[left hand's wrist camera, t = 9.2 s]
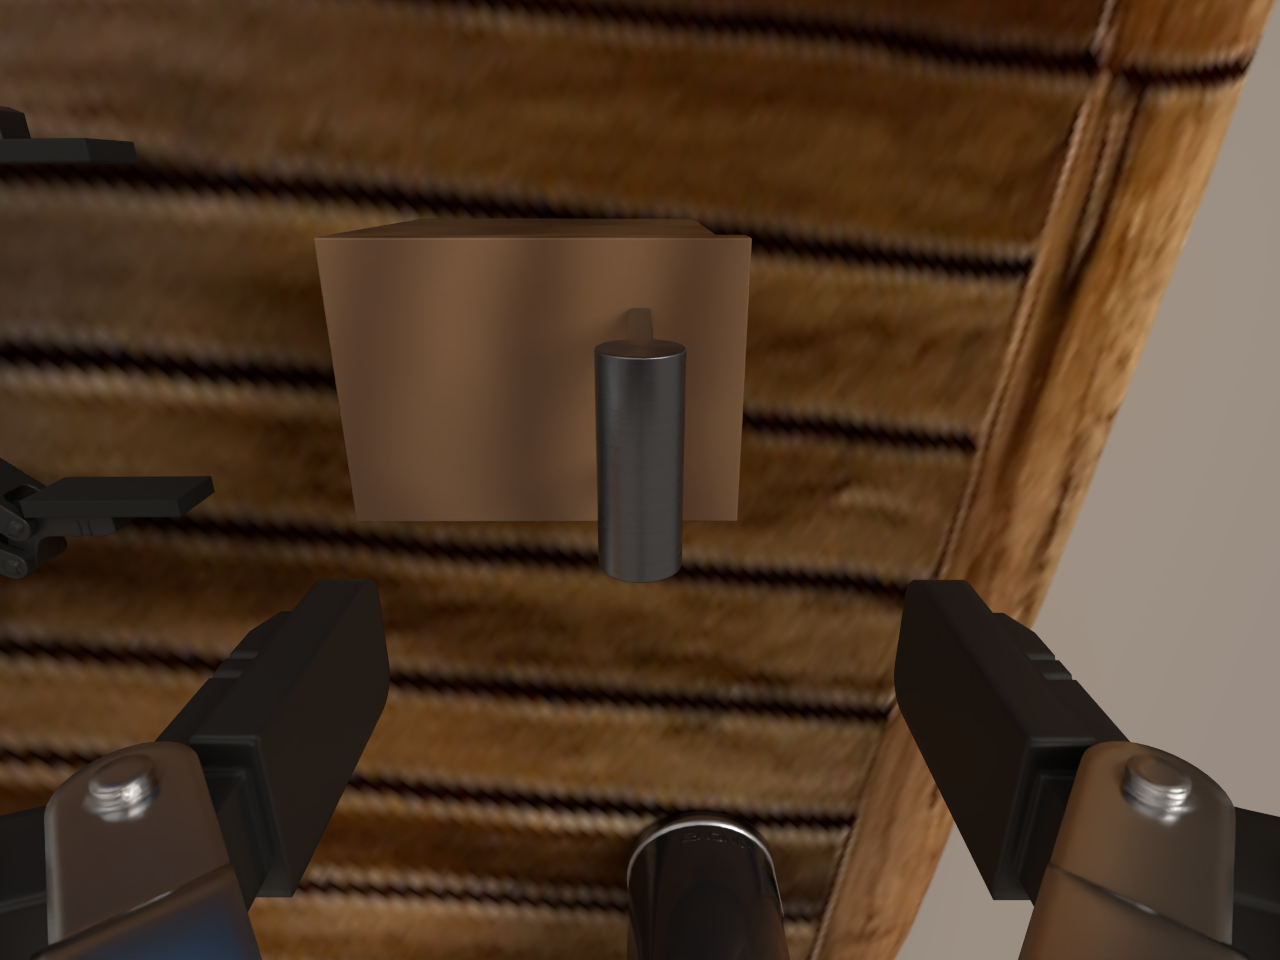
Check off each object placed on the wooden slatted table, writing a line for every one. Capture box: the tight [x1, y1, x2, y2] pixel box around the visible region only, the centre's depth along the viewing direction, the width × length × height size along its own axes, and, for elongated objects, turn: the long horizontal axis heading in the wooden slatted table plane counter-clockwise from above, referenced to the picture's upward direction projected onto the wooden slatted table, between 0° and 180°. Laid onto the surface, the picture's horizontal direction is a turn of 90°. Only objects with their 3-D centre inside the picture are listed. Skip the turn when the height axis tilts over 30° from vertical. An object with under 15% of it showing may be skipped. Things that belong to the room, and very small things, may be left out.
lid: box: [314, 235, 752, 583], centre depth 22 cm, size 13×10×9 cm
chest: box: [333, 219, 715, 235], centre depth 31 cm, size 12×10×11 cm
